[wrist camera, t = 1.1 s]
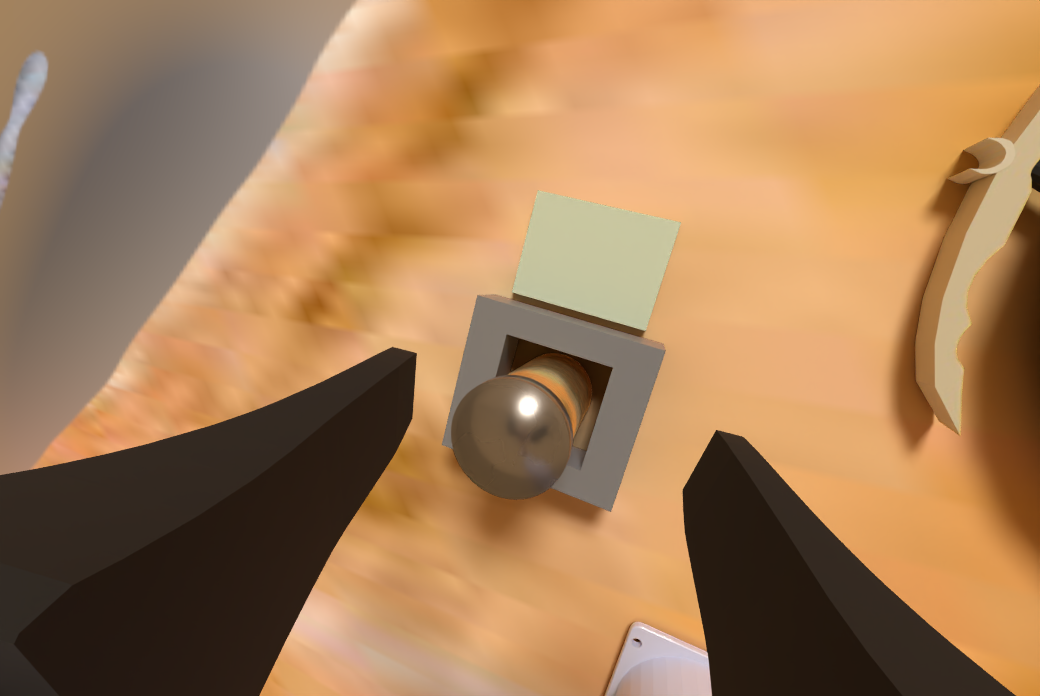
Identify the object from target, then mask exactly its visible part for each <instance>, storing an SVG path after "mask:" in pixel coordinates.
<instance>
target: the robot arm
mask: <svg viewBox="0 0 1040 696" xmlns="http://www.w3.org/2000/svg"><path fill="white" fill-rule="evenodd" d="M416 356H417V353H414V352H410V351H406V350H402V349H398V348H394V347H392V348H389V349H387V350H385V351H383V352H381V353H379V354H377V355H375V356H373V357H371V358H369V359H367V360H365V361H363V362H361V363H359V364H357V365H355V366H353V367H351V368H349V369H347V370H345V371H343V372H341V373H339V374H337V375H335V376H333V377H331V378H329V379H327V380H325V381H323V382H321V383H318V384H316V385H314V386H312V387H309V388H307V389H305V390H303V391H300V392H298V393H296V394H293V395H291V396H289V397H287V398H284V399H282V400H280V401H277V402H275V403H273V404H270V405H268V406H265V407H262V408H260V409H257V410H255V411H252V412H249V413H246V414H244V415H241V416H238V417H235V418H232V419H229V420H226V421H223V422H221V423H218V424H214V425H211V426H208V427H205V428H201V429H198V430H194V431H191V432H188V433H184V434H181V435H177V436H174V437H170V438H167V439H163V440H160V441H156V442H153V443H149V444H145V445H142V446H138V447H134V448H129V449H125V450H121V451H117V452H113V453H109V454H105V455H100V456H96V457H91V458H86V459H82V460H77V461H73V462H68V463H63V464H58V465H53V466H48V467H43V468H38V469H33V470H27V471H22V472H16V473H10V474H5V475H0V696H259V695H260V693H261V691H262V689H263V687H264V685H265V683H266V681H267V678H268V676H269V674H270V672H271V670H272V668H273V666H274V664H275V662H276V660H277V658H278V656H279V654H280V652H281V650H282V647H283V645H284V643H285V641H286V639H287V637H288V635H289V633H290V631H291V629H292V627H293V625H294V624H295V622H296V620H297V618H298V616H299V614H300V612H301V610H302V608H303V606H304V604H305V602H306V600H307V598H308V596H309V594H310V592H311V590H312V588H313V586H314V585H315V583H316V581H317V579H318V577H319V575H320V573H321V571H322V569H323V568H324V566H325V564H326V562H327V560H328V558H329V556H330V554H331V552H332V551H333V549H334V547H335V546H336V544H337V542H338V541H339V539H340V537H341V536H342V534H343V532H344V531H345V529H346V528H347V526H348V525H349V523H350V522H351V520H352V519H353V517H354V516H355V514H356V513H357V511H358V510H359V508H360V506H361V505H362V503H363V502H364V500H365V499H366V497H367V496H368V494H369V493H370V491H371V490H372V488H373V487H374V485H375V484H376V482H377V481H378V479H379V478H380V476H381V475H382V473H383V472H384V470H385V468H386V467H387V465H388V464H389V462H390V461H391V459H392V458H393V456H394V454H395V453H396V451H397V449H398V447H399V445H400V443H401V441H402V439H403V437H404V435H405V433H406V430H407V428H408V426H409V424H410V422H411V420H412V415H413V400H414V386H415V371H416ZM683 512H684V526H685V535H686V541H687V546H688V552H689V557H690V562H691V568H692V573H693V578H694V583H695V588H696V593H697V598H698V603H699V608H700V613H701V618H702V624H703V629H704V634H705V640H706V647H707V652H706V651H704V650H702V649H700V648H697V647H695V646H693V645H691V644H688V643H686V642H684V641H682V640H680V639H677V638H675V637H673V636H671V635H669V634H666V633H664V632H662V631H660V630H657V629H655V628H653V627H651V626H649V625H646V624H644V623H642V622H634V623H632V625H631V626H630V629H629V631H628V634H627V637H626V639H625V642H624V645H623V647H622V650H621V653H620V655H619V658H618V661H617V663H616V666H615V669H614V671H613V674H612V677H611V680H610V682H609V685H608V688H607V690H606V693H605V696H1016V695H1014V694H1013V693H1012V692H1010V691H1009V690H1008V689H1007V688H1005V687H1004V686H1003V685H1002V684H1000V683H999V682H998V681H997V680H996V679H994V678H993V677H992V676H991V675H989V674H988V673H987V672H986V671H984V670H983V669H982V668H981V667H980V666H978V665H977V664H976V663H975V662H973V661H972V660H971V659H970V658H969V657H967V656H966V655H965V654H964V653H962V652H961V651H960V650H959V649H958V648H956V647H955V646H954V645H953V644H951V643H950V642H949V641H948V640H947V639H946V638H944V637H943V636H942V635H941V634H940V633H939V632H937V631H936V630H935V629H934V628H933V627H932V626H930V625H929V624H928V623H927V622H926V621H925V620H924V619H922V618H921V617H920V616H919V615H918V614H917V613H916V612H915V611H914V610H912V609H911V608H910V607H909V606H908V605H907V604H906V603H905V602H904V601H902V600H901V599H900V598H899V597H898V596H897V595H896V594H895V593H894V592H892V591H891V590H890V589H889V588H888V587H887V586H886V585H885V584H884V583H883V582H882V581H881V580H879V579H878V578H877V577H876V576H875V575H874V574H873V573H872V572H871V571H870V570H869V569H868V568H867V567H866V566H865V565H864V564H863V563H862V562H861V561H860V560H859V559H858V558H857V557H856V556H855V555H854V554H853V553H852V552H851V551H850V550H849V549H848V548H847V547H846V546H845V545H844V544H843V543H842V542H841V541H840V540H839V539H838V538H837V537H836V536H835V535H834V534H833V533H832V532H831V531H830V530H829V529H828V528H827V527H826V526H825V525H824V523H823V522H822V521H821V520H820V519H819V518H818V517H817V516H816V515H815V514H814V513H813V512H812V511H811V510H810V509H809V507H808V506H807V505H806V504H805V503H804V502H803V501H802V500H801V499H800V498H799V497H798V495H797V494H796V493H795V492H794V491H793V490H792V489H791V488H790V487H789V485H788V484H787V483H786V482H785V481H784V480H783V479H782V478H781V477H780V475H779V474H778V473H777V472H776V471H775V470H774V469H773V468H772V467H771V465H770V464H769V463H768V462H767V461H766V460H765V459H764V458H763V457H762V456H761V455H760V453H759V452H758V451H757V450H756V449H755V448H754V447H753V446H752V445H751V444H750V443H749V442H748V441H747V440H746V439H745V438H744V437H742V436H738V435H734V434H730V433H726V432H722V431H718V430H716V432H715V433H714V435H713V437H712V439H711V441H710V442H709V444H708V446H707V448H706V449H705V451H704V453H703V455H702V457H701V458H700V460H699V462H698V464H697V465H696V467H695V469H694V471H693V473H692V474H691V476H690V478H689V480H688V481H687V483H686V485H685V487H684V489H683ZM635 638H636V639H639V640H640V642H636V641H634V640H633V639H635Z"/></svg>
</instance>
